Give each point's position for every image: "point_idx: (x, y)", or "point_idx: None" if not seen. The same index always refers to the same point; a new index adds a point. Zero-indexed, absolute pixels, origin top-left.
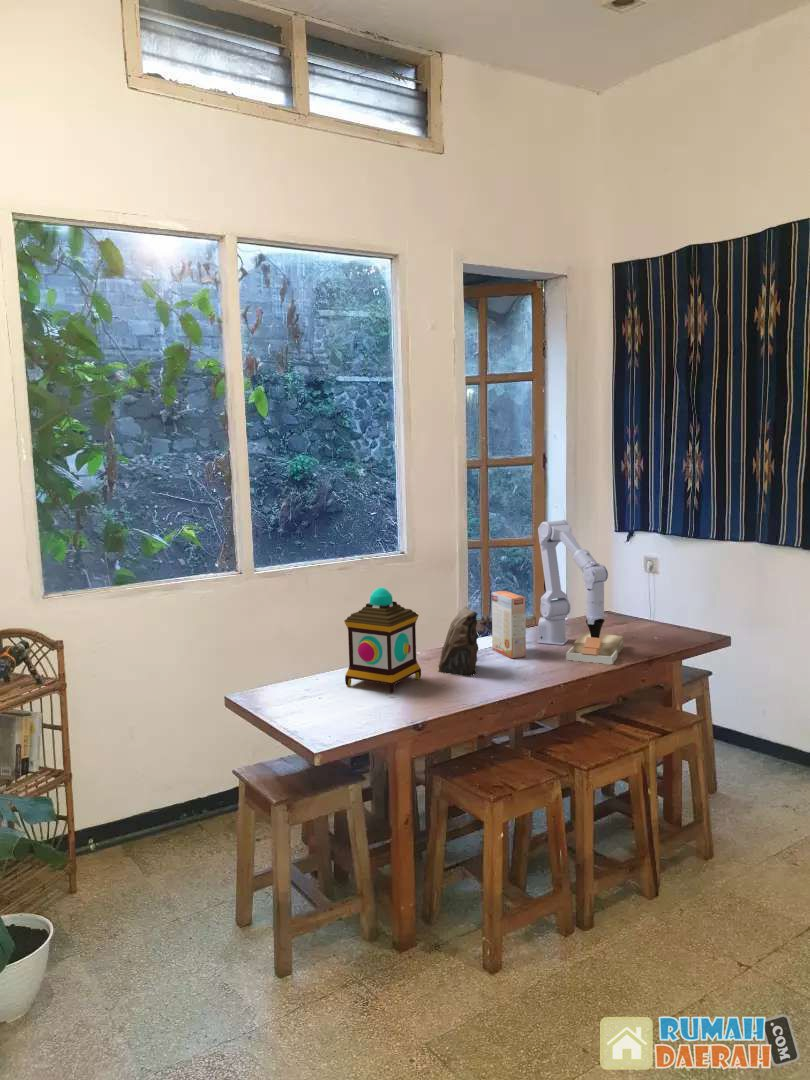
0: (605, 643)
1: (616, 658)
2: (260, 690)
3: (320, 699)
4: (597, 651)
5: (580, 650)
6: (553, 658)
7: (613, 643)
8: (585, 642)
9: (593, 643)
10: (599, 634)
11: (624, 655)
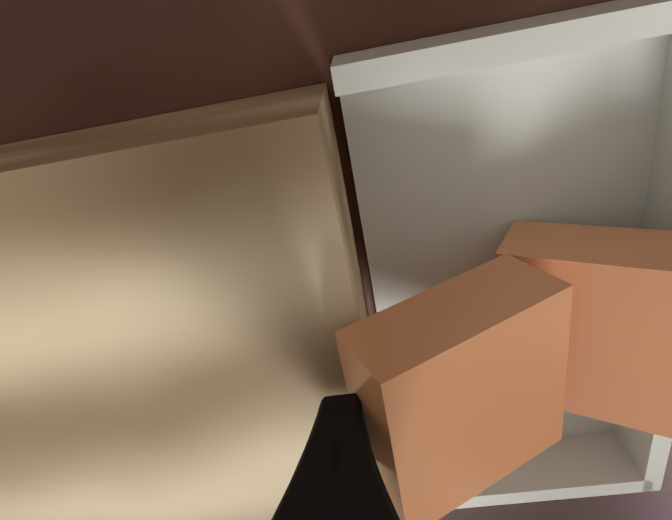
0: (267, 296)
1: (384, 46)
2: None
3: None
4: (650, 259)
5: None
6: (589, 503)
7: (196, 201)
8: (497, 477)
9: (502, 397)
10: (341, 466)
11: (166, 13)
